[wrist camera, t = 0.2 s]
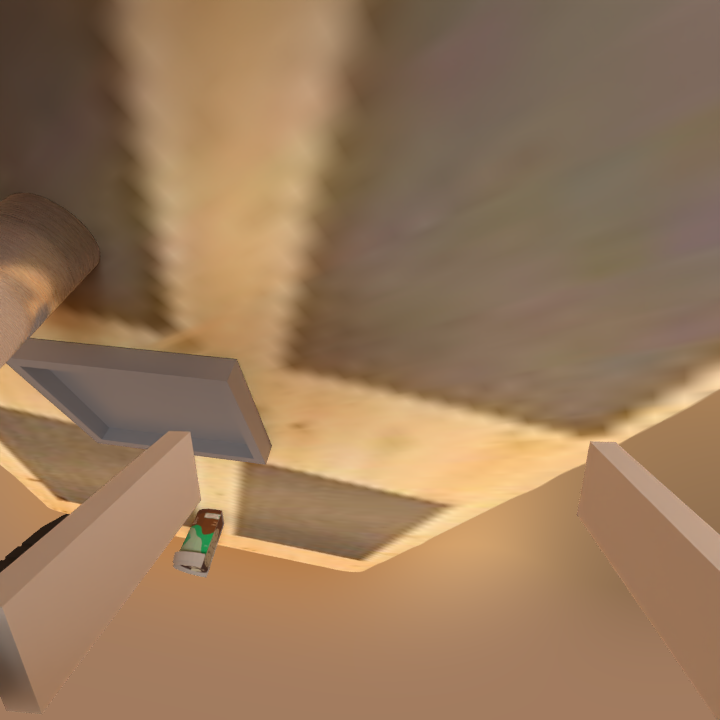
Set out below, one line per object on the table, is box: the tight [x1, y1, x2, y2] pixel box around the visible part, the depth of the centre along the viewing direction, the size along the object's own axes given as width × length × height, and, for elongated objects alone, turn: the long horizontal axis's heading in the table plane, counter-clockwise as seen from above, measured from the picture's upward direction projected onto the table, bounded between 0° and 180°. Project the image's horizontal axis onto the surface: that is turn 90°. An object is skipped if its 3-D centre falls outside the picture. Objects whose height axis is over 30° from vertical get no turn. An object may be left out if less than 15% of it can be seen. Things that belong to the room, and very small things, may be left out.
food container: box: [173, 509, 224, 577], centre depth 74 cm, size 12×6×10 cm, turn 166°
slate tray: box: [6, 338, 272, 464], centre depth 42 cm, size 17×22×2 cm
